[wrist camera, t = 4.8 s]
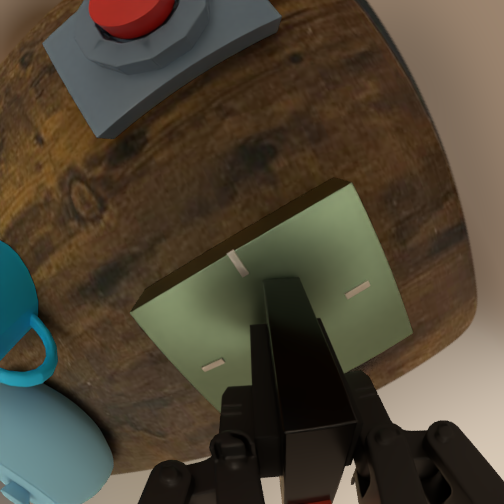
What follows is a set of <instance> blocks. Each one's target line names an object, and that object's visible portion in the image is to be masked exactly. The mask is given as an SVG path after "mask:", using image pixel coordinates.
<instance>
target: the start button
mask: <svg viewBox="0 0 504 504" xmlns="http://www.w3.org/2000/svg"><path fill="white" fill-rule="evenodd" d="M174 2H175V0H90V2H89V14H90V17H91V19H92V20H93V21H94V22H95V23H96V24H98V25H99V26H100V27H102V28H103V29H104V30H105V31H107V32H108V33H109V34H110V35H112V36H114V37H117V38H121V39H132V38H137V37H140V36H143V35H146V34H148V33H150V32H151V31H153V30H155V29H156V28H157V27H159V26H160V25H161V24H162V23H163V22H164V21H165V20H166V19H167V18H168V16H169V15H170V13H171V11H172V9H173V6H174Z"/></svg>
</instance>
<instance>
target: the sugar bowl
mask: <svg viewBox="0 0 504 504" xmlns="http://www.w3.org/2000/svg"><path fill="white" fill-rule="evenodd" d="M113 466H114V465H113V456H112V453H111V450H110V448H109V446H108V444H107V442H106V439H105V437H104V436H103V434H102V432H101V430H100V429H99V427H98V426H97V425H96V423H95V422H94V421H93V420H92V419H91V418H90V417H89V416H88V415H87V414H86V413H85V412H84V411H83V410H82V409H81V408H80V407H78V406H77V405H76V404H75V403H73V402H72V401H71V400H69V399H68V398H67V397H65V396H64V395H62V394H61V393H59V392H58V391H56V390H54V389H52V388H51V387H49V386H47V385H45V384H43V383H42V384H38V385H34V386H31V387H18V386H9V385H6V384H4V383H1V382H0V481H2V482H3V483H4V484H5V485H6V486H4V487H3V488H2V489H1V490H0V491H1V492H2V494H3V495H4V496H5V497H6V498H8V499H9V500H10V501H12V502H13V503H15V504H30V502H31V503H34V504H82V503H84V502H86V501H88V500H89V499H90V498H92V497H93V496H94V495H96V494H97V493H98V492H99V491H100V490H101V488H102V487H103V485H104V484H105V483H106V482H107V480H108V478H109V477H110V475H111V472H112V469H113Z"/></svg>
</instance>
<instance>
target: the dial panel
mask: <svg viewBox="0 0 504 504" xmlns="http://www.w3.org/2000/svg"><path fill="white" fill-rule="evenodd" d="M295 277H299V278H300V280H301V282H302V285H303V287H304V289H305V292H306V294H307V296H308V299H309V301H310V304H311V306H312V308H313V311H314V313H315V315H316V318H321V321H322V323H323V325H324V327H325V330H326V332H327V334H328V337H329V339H330V341H331V344H332V346H333V348H334V351H335V353H336V356H337V358H338V360H339V363H340V365H341V368H342V370H343V372H344V373H346V372H348V371H349V370H351V369H353V368H355V367H357V366H359V365H360V364H362V363H364V362H366V361H368V360H369V359H371V358H373V357H375V356H376V355H378V354H380V353H381V352H383V351H385V350H386V349H388V348H390V347H391V346H393V345H395V344H396V343H398V342H400V341H401V340H403V339H404V338H406V337H407V336H409V335H411V334H412V333H413V331H412V328H411V325H410V322H409V319H408V316H407V313H406V310H405V307H404V304H403V301H402V298H401V296H400V293H399V290H398V287H397V285H396V282H395V279H394V277H393V274H392V271H391V269H390V266H389V264H388V261H387V259H386V256H385V254H384V251H383V249H382V247H381V244H380V242H379V240H378V237H377V235H376V233H375V230H374V228H373V226H372V224H371V221H370V219H369V217H368V215H367V212H366V210H365V208H364V206H363V204H362V202H361V200H360V198H359V195H358V193H357V191H356V189H355V187H354V185H353V183H352V182H348V181H345V180H342V179H338V178H332V179H330V180H328V181H327V182H325V183H323V184H321V185H319V186H318V187H316V188H314V189H312V190H311V191H309V192H307V193H305V194H304V195H302V196H300V197H299V198H297V199H295V200H293V201H292V202H290V203H288V204H286V205H285V206H283V207H281V208H280V209H278V210H276V211H274V212H273V213H271V214H269V215H268V216H266V217H264V218H262V219H261V220H259V221H257V222H256V223H254V224H252V225H251V226H249V227H247V228H245V229H244V230H242V231H240V232H239V233H237V234H235V235H234V236H232V237H230V238H229V239H227V240H225V241H224V242H222V243H220V244H219V245H217V246H215V247H214V248H212V249H210V250H209V251H207V252H205V253H204V254H202V255H200V256H199V257H197V258H195V259H194V260H192V261H190V262H189V263H187V264H186V265H184V266H182V267H181V268H179V269H177V270H176V271H174V272H172V273H171V274H169V275H168V276H166V277H164V278H163V279H161V280H159V281H158V282H156V283H155V284H153V285H151V286H150V287H148V288H147V289H145V290H144V292H143V293H142V295H141V296H140V298H139V299H138V301H137V302H136V304H135V305H134V307H133V308H132V310H131V311H130V314H131V315H132V317H133V318H134V319H135V320H136V322H137V323H138V324H139V325H140V327H141V328H142V329H143V330H144V331H145V333H146V334H147V335H148V336H149V337H150V339H151V340H152V341H153V342H154V343H155V344H156V346H157V347H158V348H159V349H160V350H161V351H162V352H163V354H164V355H165V356H166V357H167V358H168V359H169V360H170V361H171V363H172V364H173V365H174V366H175V367H176V368H177V369H178V370H179V371H180V372H181V373H182V374H183V376H184V377H185V378H186V379H187V380H188V381H189V382H190V383H191V384H192V385H193V386H194V387H195V388H196V389H197V390H198V391H199V392H200V393H201V394H202V395H203V396H204V397H205V398H206V399H207V400H208V401H209V402H210V403H211V404H212V405H213V406H214V407H215V408H216V409H217V410H218V411H219V412H220V413H221V400H222V395H223V393H224V392H225V390H226V388H227V387H228V386H245V385H252V374H251V348H250V325H254V324H265V312H264V297H263V283H262V282H263V280H271V279H283V278H295Z"/></svg>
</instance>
